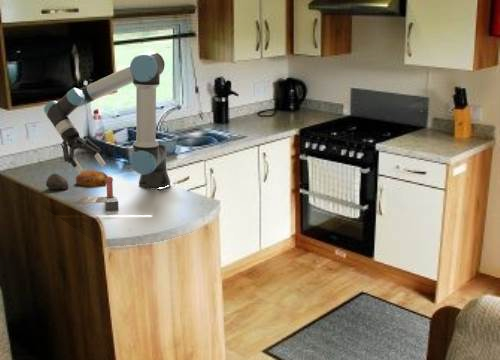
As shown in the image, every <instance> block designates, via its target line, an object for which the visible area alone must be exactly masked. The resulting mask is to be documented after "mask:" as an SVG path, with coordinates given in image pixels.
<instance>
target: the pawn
mask: <svg viewBox="0 0 500 360" xmlns="http://www.w3.org/2000/svg"><path fill="white" fill-rule="evenodd" d="M107 176H108V177H106V184H105V185H106V196H105V197H106V199H109V198H114V197H115V196H114V190H113V189H114V187H113V181H114V179H113V177H112V176H111V175H110V176H109V175H107Z"/></svg>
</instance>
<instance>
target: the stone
mask: <svg viewBox="0 0 500 360" xmlns="http://www.w3.org/2000/svg"><path fill="white" fill-rule="evenodd" d="M45 186H46V187H47V188H48V189H49V190H68V189H69V183H68V181H67V179H66V178H65V177H63V176H62V175H60V174H58V173H52V174H50V175H49V176H48V177H47V180H46V182H45Z"/></svg>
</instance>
